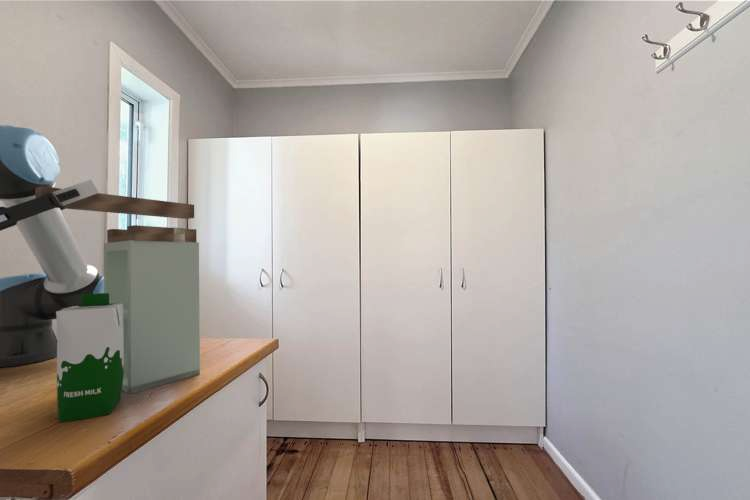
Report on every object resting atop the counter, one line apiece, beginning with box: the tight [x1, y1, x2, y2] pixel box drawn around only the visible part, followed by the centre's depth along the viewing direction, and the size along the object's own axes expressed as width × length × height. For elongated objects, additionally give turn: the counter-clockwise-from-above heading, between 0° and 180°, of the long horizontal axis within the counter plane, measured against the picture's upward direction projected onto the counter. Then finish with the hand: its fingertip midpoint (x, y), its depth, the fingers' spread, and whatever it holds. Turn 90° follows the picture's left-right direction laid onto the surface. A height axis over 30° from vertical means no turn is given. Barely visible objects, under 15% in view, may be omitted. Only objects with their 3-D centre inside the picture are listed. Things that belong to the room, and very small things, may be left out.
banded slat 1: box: [106, 228, 127, 243], centre depth 84 cm, size 13×3×3 cm, turn 145°
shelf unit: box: [103, 240, 201, 395], centre depth 80 cm, size 14×13×30 cm
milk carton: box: [56, 293, 124, 423], centre depth 63 cm, size 9×9×20 cm
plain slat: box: [35, 186, 195, 220], centre depth 76 cm, size 28×3×3 cm, turn 146°
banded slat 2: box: [126, 224, 197, 242], centre depth 78 cm, size 13×3×3 cm, turn 149°
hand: (90, 187), depth 71 cm, fingers closed on plain slat, 3 cm apart
